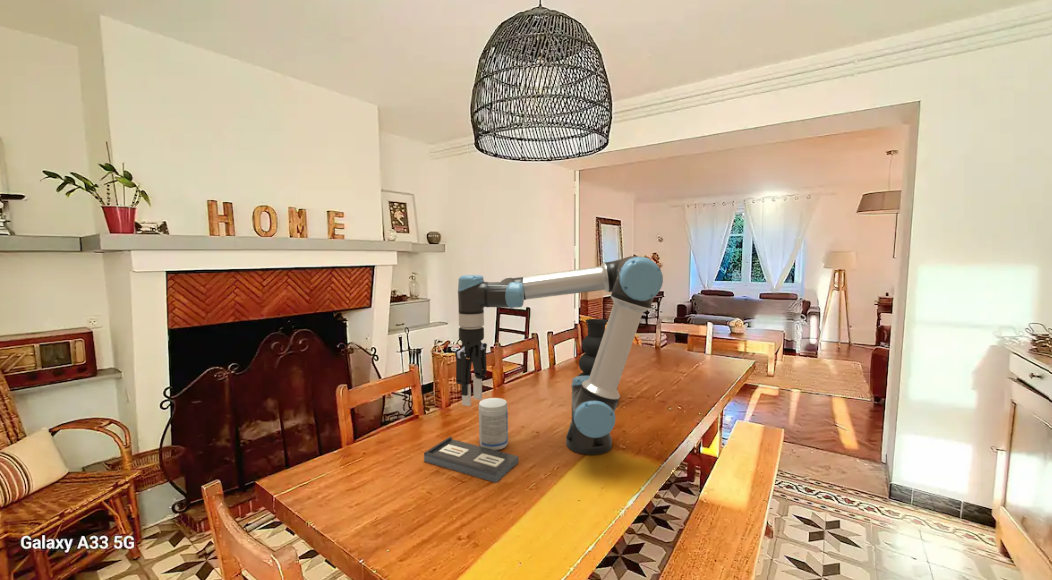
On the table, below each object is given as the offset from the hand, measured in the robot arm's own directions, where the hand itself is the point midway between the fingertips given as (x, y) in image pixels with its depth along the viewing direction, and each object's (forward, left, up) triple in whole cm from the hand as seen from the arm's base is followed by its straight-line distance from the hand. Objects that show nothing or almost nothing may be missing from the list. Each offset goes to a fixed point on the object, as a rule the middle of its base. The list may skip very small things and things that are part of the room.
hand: (472, 401), depth 133 cm
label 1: (+7, +1, -17) cm, 18 cm away
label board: (0, +1, -19) cm, 19 cm away
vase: (-17, -66, -19) cm, 71 cm away
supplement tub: (0, -12, -19) cm, 22 cm away
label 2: (-6, +1, -17) cm, 18 cm away
